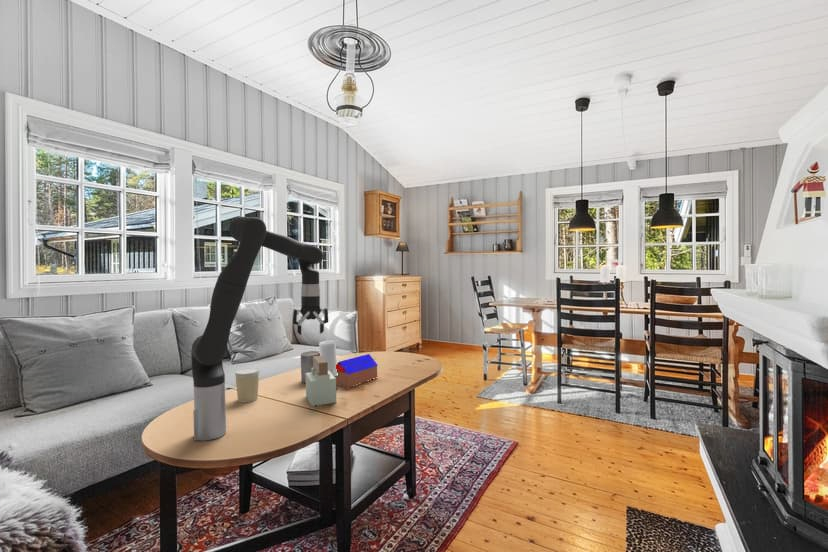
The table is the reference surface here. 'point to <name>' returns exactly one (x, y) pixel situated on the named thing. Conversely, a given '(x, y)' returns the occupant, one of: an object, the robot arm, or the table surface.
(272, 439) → the table surface
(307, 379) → the stand
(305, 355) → the pillar candle
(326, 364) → the long beige cuboid
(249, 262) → the robot arm
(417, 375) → the table surface
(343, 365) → the house
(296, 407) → the table surface
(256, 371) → the coffee cup
